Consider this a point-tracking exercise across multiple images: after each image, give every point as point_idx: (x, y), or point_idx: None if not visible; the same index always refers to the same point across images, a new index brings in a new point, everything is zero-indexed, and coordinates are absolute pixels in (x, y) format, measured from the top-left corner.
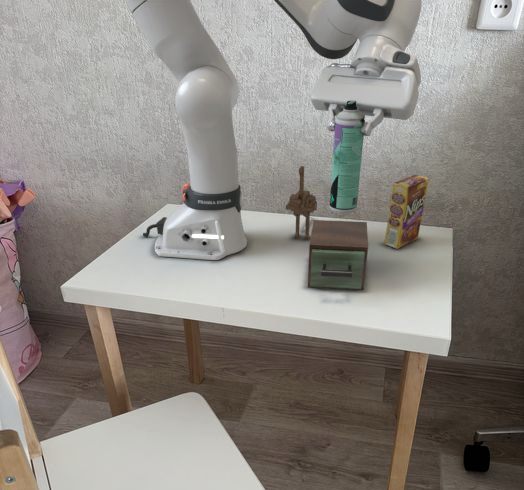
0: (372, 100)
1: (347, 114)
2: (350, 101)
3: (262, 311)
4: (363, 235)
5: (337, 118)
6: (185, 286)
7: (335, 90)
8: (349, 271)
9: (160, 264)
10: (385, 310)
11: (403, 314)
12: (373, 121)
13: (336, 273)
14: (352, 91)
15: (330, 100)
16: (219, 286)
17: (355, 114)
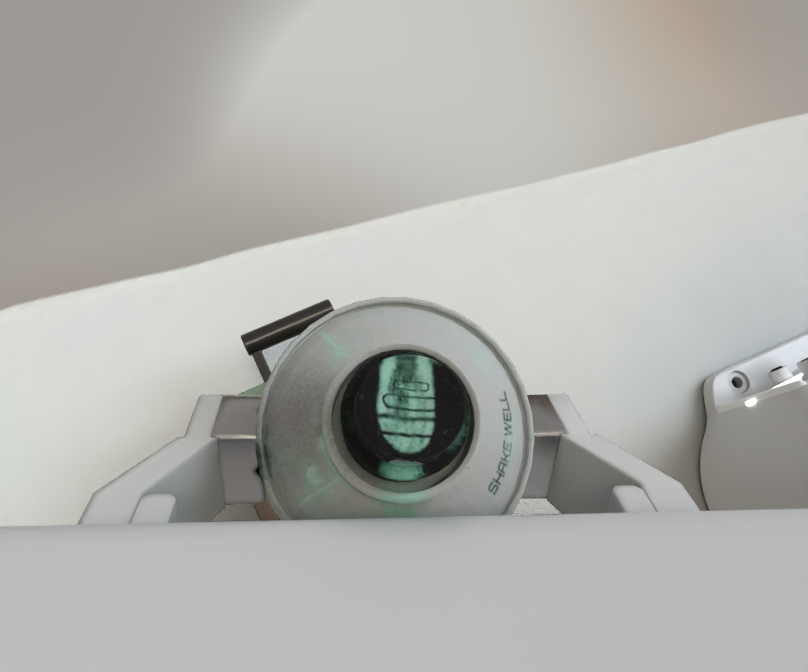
0: (185, 557)
1: (387, 327)
2: (430, 413)
3: (424, 211)
4: (275, 515)
5: (476, 337)
6: (657, 220)
7: (797, 617)
8: (251, 338)
9: (802, 282)
10: (146, 368)
11: (93, 374)
12: (160, 452)
13: (285, 317)
14: (543, 641)
15: (727, 512)
16: (591, 260)
17: (321, 368)
